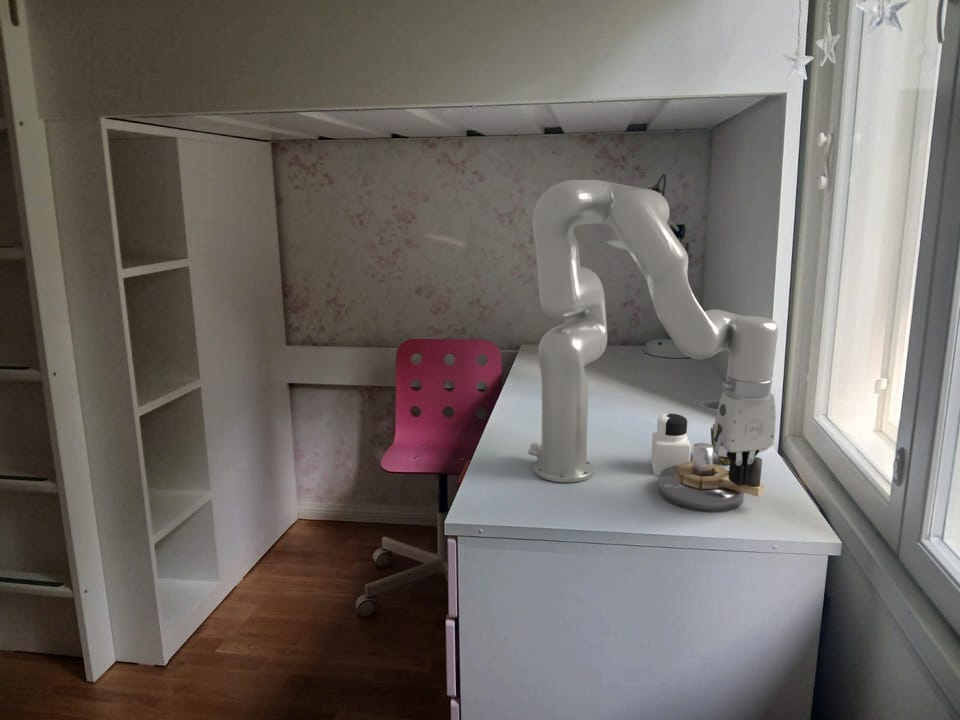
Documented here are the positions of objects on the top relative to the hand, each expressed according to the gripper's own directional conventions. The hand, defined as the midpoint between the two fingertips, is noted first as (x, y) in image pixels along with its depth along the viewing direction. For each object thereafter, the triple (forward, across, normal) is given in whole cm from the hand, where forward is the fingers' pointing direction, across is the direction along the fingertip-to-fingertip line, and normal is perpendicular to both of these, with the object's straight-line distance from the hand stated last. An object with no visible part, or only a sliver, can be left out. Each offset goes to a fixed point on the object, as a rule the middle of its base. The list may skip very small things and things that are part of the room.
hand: (737, 482), depth 133 cm
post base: (+6, -1, +9) cm, 11 cm away
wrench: (+3, 0, +6) cm, 7 cm away
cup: (+6, +13, +21) cm, 26 cm away
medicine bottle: (+7, 0, +22) cm, 23 cm away
